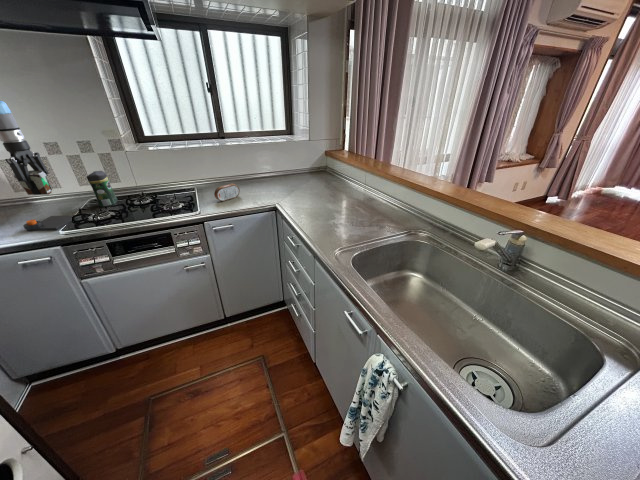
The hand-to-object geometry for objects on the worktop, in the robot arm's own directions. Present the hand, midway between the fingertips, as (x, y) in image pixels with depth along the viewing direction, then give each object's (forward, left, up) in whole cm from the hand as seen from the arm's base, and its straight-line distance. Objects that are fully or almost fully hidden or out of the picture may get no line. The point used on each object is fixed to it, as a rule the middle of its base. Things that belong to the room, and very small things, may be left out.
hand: (43, 192), depth 126 cm
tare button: (-4, -8, -13) cm, 16 cm away
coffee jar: (+10, +22, -16) cm, 29 cm away
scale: (0, -3, -15) cm, 16 cm away
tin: (+78, +26, -16) cm, 84 cm away
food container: (0, +1, -1) cm, 1 cm away
